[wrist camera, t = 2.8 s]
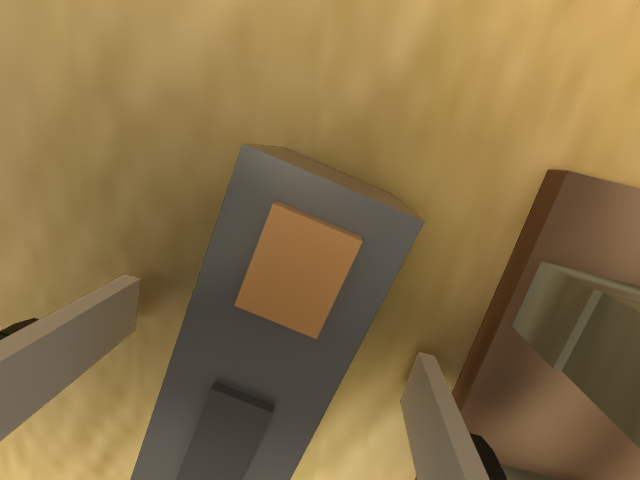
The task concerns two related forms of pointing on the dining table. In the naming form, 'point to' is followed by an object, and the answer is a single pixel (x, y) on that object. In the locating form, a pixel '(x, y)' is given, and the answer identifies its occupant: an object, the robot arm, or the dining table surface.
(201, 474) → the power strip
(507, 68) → the dining table surface
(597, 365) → the rack
